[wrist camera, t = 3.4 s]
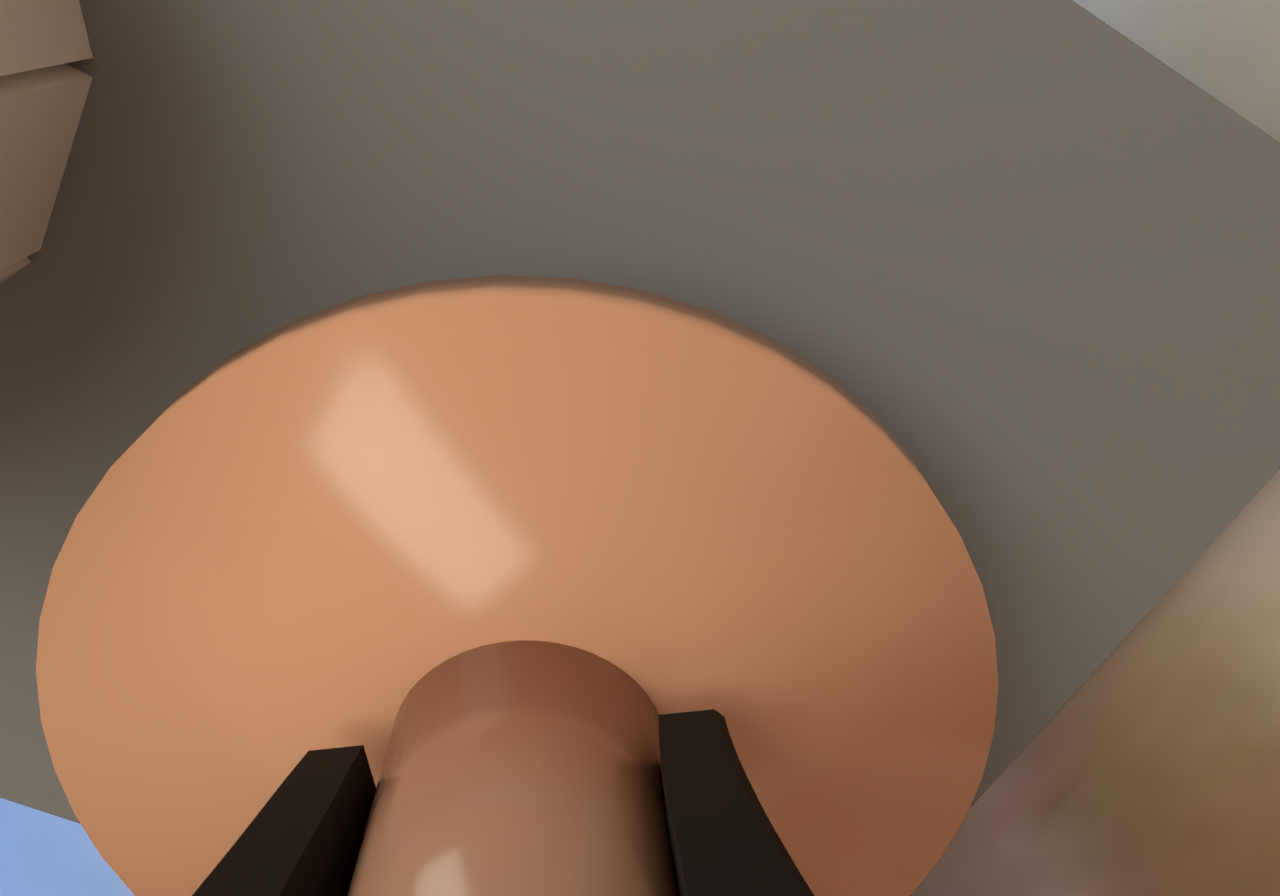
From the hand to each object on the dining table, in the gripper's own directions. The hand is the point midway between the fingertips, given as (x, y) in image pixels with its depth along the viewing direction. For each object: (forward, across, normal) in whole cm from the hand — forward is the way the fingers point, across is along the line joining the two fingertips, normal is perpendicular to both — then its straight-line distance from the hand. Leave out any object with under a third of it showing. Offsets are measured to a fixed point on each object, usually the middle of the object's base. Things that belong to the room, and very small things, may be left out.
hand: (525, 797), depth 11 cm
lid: (+2, 0, 0) cm, 2 cm away
